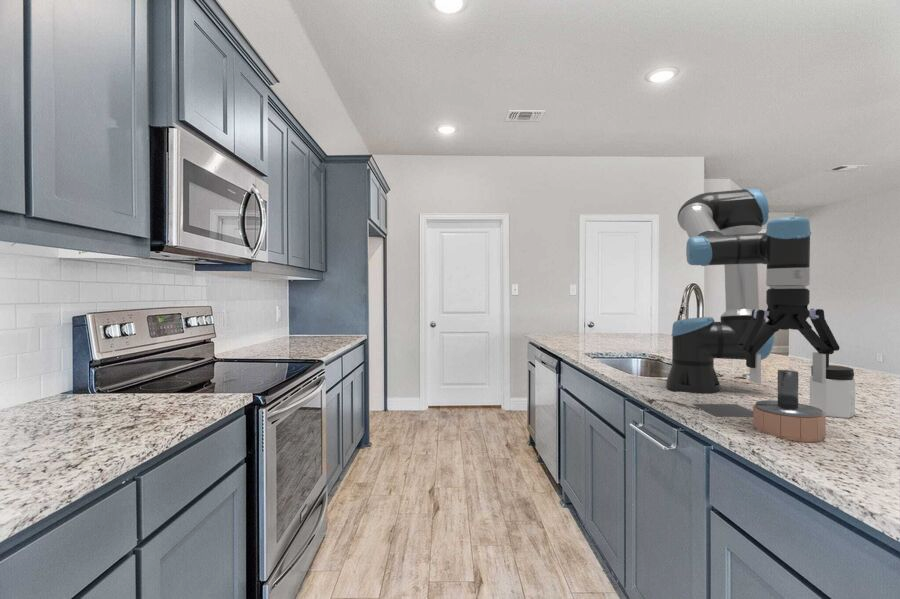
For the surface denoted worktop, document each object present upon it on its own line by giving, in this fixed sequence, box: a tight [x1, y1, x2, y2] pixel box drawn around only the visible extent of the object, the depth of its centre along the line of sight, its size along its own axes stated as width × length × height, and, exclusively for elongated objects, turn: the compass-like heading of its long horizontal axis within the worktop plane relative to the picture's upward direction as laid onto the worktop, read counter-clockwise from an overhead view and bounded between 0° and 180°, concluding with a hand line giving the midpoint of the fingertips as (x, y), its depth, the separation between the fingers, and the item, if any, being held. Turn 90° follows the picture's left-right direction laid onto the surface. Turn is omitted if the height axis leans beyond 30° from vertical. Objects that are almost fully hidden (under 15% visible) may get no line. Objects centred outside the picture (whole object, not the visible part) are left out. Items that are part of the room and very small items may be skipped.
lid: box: [755, 369, 823, 418], centre depth 94 cm, size 12×12×9 cm
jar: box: [809, 364, 856, 419], centre depth 108 cm, size 9×8×12 cm
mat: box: [691, 403, 753, 418], centre depth 110 cm, size 12×12×1 cm
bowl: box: [752, 403, 827, 443], centre depth 94 cm, size 12×12×5 cm
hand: (786, 382), depth 94 cm, fingers open, 13 cm apart
